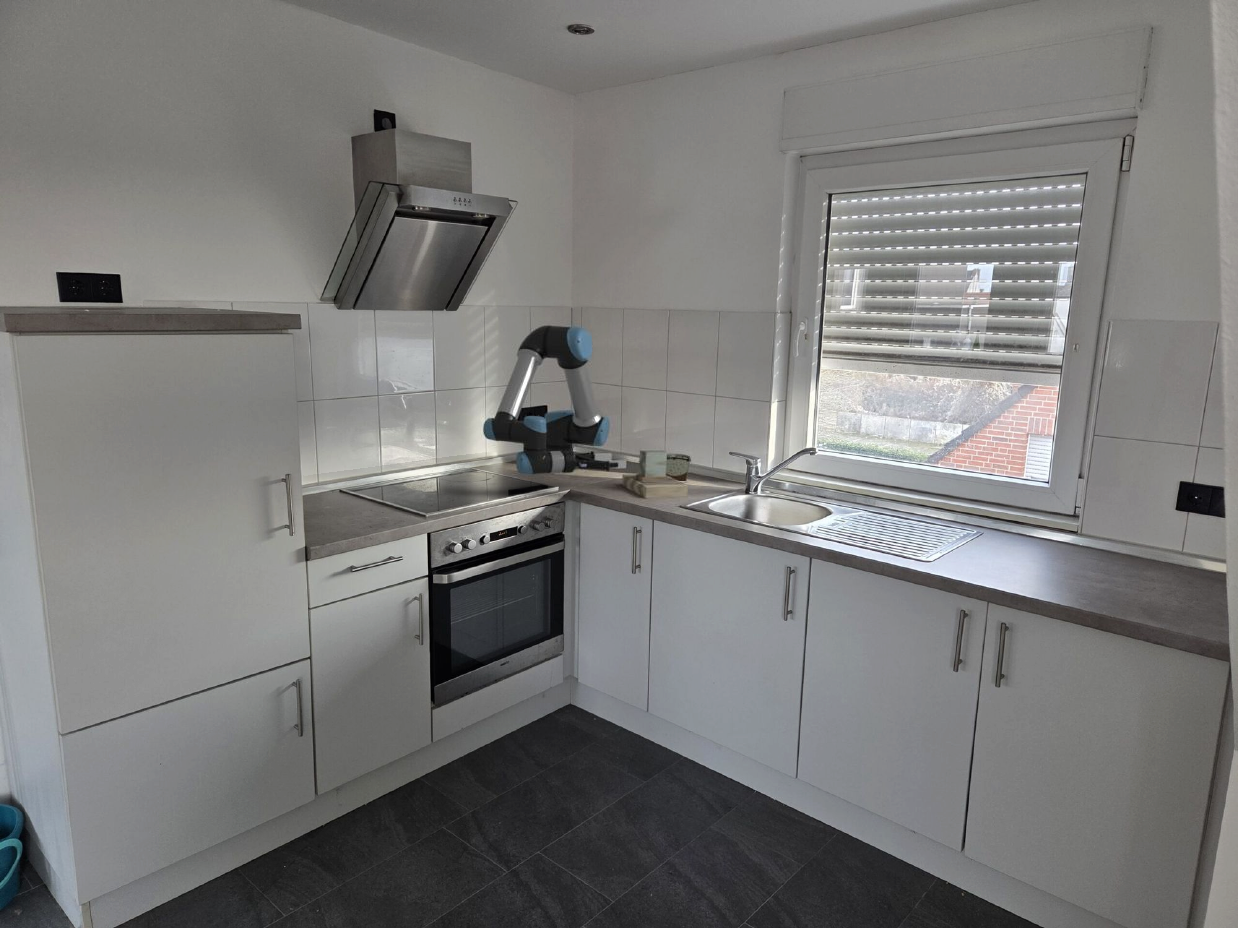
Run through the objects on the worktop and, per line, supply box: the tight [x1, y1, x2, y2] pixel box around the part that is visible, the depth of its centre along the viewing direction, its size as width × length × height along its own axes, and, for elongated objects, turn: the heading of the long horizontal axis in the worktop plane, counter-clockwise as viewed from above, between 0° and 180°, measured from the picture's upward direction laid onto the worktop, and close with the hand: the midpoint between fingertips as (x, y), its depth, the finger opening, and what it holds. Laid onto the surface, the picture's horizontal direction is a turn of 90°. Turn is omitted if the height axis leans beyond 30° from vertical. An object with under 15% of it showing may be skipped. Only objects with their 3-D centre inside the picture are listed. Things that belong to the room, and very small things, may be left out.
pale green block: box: [635, 448, 668, 482], centre depth 293 cm, size 6×10×10 cm, turn 112°
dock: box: [621, 473, 689, 499], centre depth 295 cm, size 22×16×4 cm
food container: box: [666, 452, 692, 482], centre depth 315 cm, size 12×6×10 cm, turn 84°
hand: (618, 460), depth 288 cm, fingers open, 13 cm apart
